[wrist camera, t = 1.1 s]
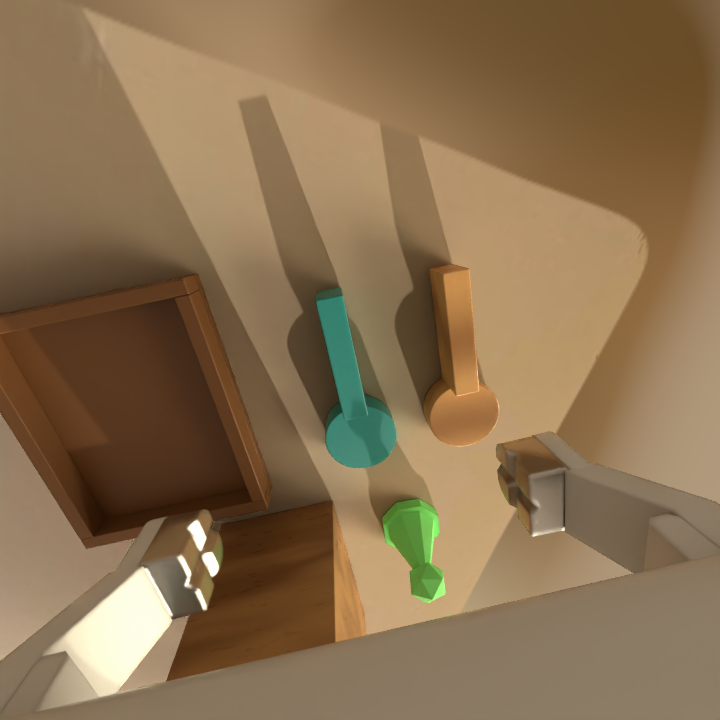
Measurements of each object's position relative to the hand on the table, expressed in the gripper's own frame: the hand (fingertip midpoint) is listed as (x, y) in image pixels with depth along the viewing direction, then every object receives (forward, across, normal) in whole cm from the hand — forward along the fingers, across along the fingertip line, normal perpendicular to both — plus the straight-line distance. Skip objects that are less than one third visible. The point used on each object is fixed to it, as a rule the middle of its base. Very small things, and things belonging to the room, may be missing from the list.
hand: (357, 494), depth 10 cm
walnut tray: (+12, +12, +1) cm, 18 cm away
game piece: (+13, -2, +14) cm, 19 cm away
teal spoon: (+12, 0, +2) cm, 13 cm away
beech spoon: (+12, -7, +2) cm, 14 cm away
